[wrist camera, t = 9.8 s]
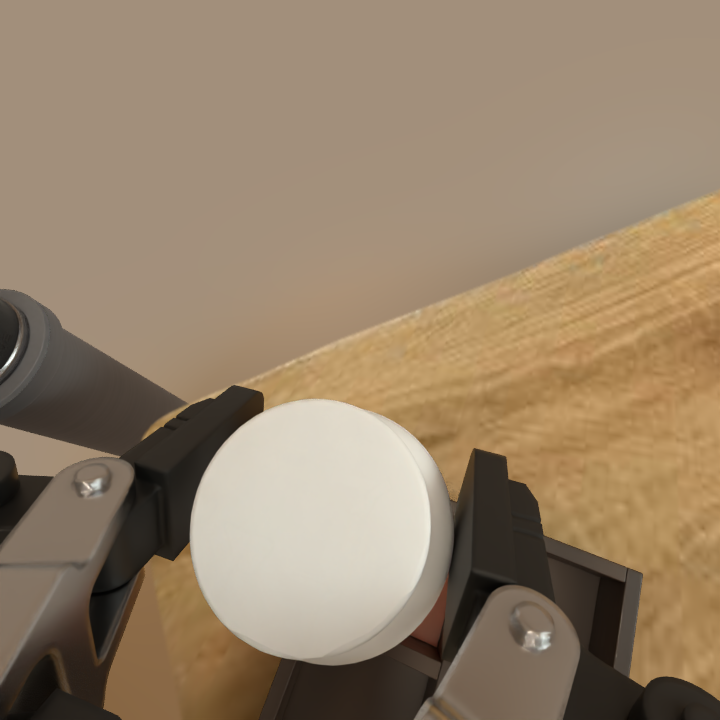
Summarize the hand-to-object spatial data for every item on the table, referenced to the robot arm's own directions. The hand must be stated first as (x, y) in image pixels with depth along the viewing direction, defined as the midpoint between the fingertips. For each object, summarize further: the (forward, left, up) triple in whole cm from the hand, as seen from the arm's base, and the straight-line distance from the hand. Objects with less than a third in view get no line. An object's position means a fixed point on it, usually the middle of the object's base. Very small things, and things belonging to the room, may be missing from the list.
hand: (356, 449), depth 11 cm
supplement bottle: (0, -2, -6) cm, 7 cm away
